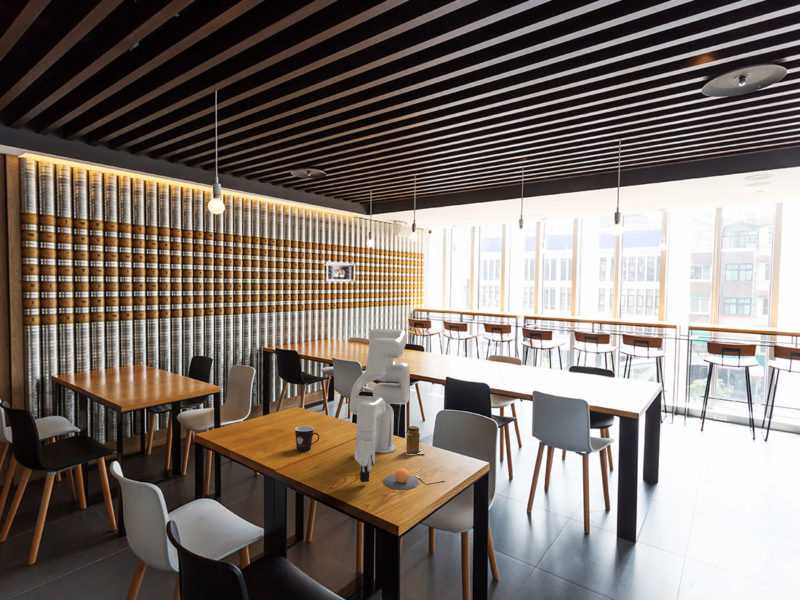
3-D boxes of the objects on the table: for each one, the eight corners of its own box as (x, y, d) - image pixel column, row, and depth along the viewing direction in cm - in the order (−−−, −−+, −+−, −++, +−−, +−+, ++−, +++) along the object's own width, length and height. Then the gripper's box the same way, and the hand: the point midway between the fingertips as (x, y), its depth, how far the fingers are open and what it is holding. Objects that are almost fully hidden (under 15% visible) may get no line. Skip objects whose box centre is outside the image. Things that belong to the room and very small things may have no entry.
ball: (396, 482, 172) (390, 472, 170) (406, 473, 174) (400, 463, 173) (403, 488, 167) (397, 478, 166) (414, 478, 170) (408, 468, 168)
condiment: (404, 450, 207) (405, 425, 207) (422, 450, 208) (423, 425, 208) (406, 455, 200) (407, 429, 200) (424, 455, 201) (425, 429, 201)
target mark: (377, 477, 174) (377, 477, 174) (408, 472, 180) (408, 472, 180) (392, 492, 161) (392, 491, 161) (425, 486, 167) (425, 485, 167)
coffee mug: (290, 449, 203) (291, 427, 203) (306, 445, 209) (307, 424, 209) (304, 456, 194) (305, 434, 194) (320, 452, 200) (321, 430, 200)
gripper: (350, 429, 172) (348, 475, 172) (364, 440, 158) (362, 490, 158) (368, 427, 175) (366, 472, 175) (382, 438, 161) (381, 487, 161)
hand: (364, 481), depth 166 cm, fingers closed
